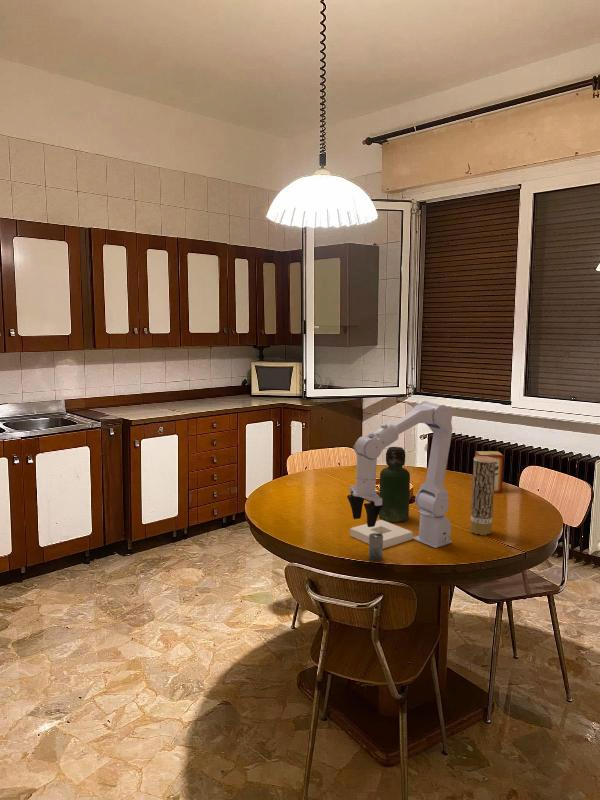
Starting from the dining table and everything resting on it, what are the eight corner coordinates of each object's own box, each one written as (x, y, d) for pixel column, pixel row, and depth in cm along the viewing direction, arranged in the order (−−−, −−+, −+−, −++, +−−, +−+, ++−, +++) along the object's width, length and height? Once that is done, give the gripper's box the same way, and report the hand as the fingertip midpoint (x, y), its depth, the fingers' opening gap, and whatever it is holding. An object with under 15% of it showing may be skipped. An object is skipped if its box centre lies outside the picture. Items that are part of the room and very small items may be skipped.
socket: (412, 539, 193) (412, 531, 192) (380, 549, 184) (380, 541, 184) (381, 526, 204) (381, 519, 203) (350, 535, 195) (350, 528, 195)
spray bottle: (375, 513, 217) (377, 445, 214) (404, 512, 218) (406, 444, 215) (382, 523, 207) (384, 452, 204) (412, 522, 208) (414, 451, 204)
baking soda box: (477, 492, 243) (479, 454, 241) (473, 488, 250) (475, 450, 247) (501, 493, 243) (503, 454, 241) (496, 488, 249) (498, 450, 247)
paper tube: (467, 528, 203) (471, 455, 199) (488, 529, 202) (492, 456, 199) (473, 536, 196) (476, 460, 192) (494, 536, 196) (498, 461, 192)
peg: (385, 559, 177) (385, 536, 176) (375, 562, 175) (375, 539, 174) (375, 554, 180) (376, 532, 179) (365, 557, 178) (366, 535, 177)
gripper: (341, 472, 181) (339, 516, 183) (368, 485, 169) (366, 532, 171) (361, 470, 185) (359, 513, 187) (389, 482, 172) (386, 528, 174)
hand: (363, 522), depth 179 cm, fingers open, 7 cm apart
